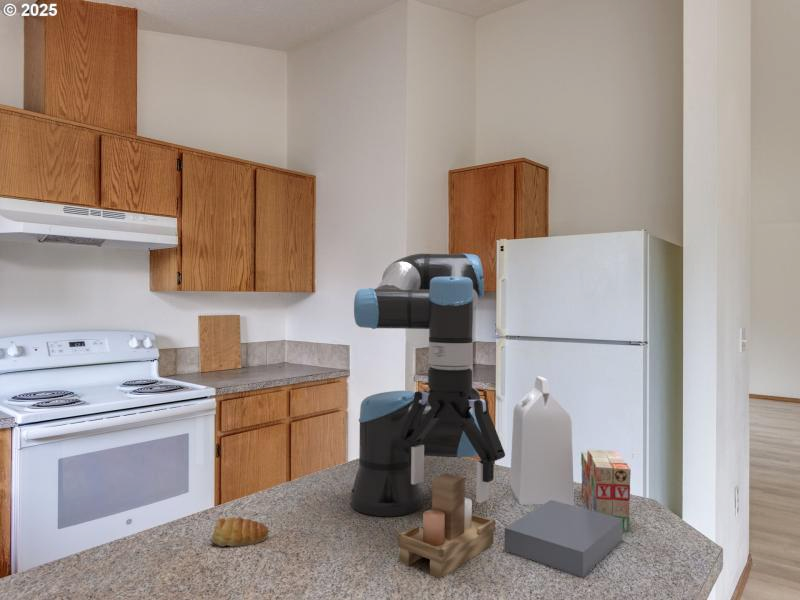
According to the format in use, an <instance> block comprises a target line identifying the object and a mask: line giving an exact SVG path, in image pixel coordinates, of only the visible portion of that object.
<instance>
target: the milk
mask: <svg viewBox="0 0 800 600" xmlns="http://www.w3.org/2000/svg"><path fill="white" fill-rule="evenodd" d="M512 417H513V418H512V437H511V438H512V439H511V456H510V457H511V459H510V473H509V475H510V477H509V486H510V488H511V490H512V492H513V494H514V496H515V498H516V500H517V499H518V500H517V502H518V501H519V502H518V503H520V504H519V505H533V504H545V503H546V502H548V501H549V500H553V501H557V502H561V503H565V504H568V505H572V506H575V490H574V488H575V487H574V486H575V485H574V460H573V459H574V457H573V432H572V431H573V429H572V425H573V423H572V419H571V415H570V414H569V412H567V411H566V409H565V408H564V407H563V406H562V405H561V404H560V403H559V402H558V401H557V400H556V399H555V398H554V397H553V396H552V395H551V394H550V384H549V379H547V378H545V377H544V376H540V375H539V376H538V375H537V376H535V381H534V387H533V389H532V390H530V391H529V392H527V393H526V394H524V395H523V396H522V398H521V399H520V400H519V401H518V402H517V403H516V404H515V406H514V407H513V416H512Z"/></svg>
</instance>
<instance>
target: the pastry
mask: <svg viewBox="0 0 800 600" xmlns="http://www.w3.org/2000/svg"><path fill="white" fill-rule="evenodd" d="M268 534H269V527H268V526H266V525H265V524H264V523H261V522H258V521H255V520H251V519H246V518H243V517H241V516H240V517H237V518H235V517H232V516H231V517H228V518H227V519H226V518H223V517H221V518H218V519H217V521H216V522H215V526H214V531H213V535H212V539H211V542H212V543H213V544H214V545H217V546H218V547H225V546H228V547H230V548H231V547H240V546H241V547H243V546H250V545H257V544H258V543H261V542H264V541H266V539H267V538H268Z"/></svg>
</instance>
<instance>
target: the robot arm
mask: <svg viewBox="0 0 800 600" xmlns="http://www.w3.org/2000/svg"><path fill="white" fill-rule="evenodd" d="M483 269H484V268H483V266H482V261H481V258H480V257H479V256H478V255H476V254H474V253H473V254H472V253H464V252H461V253H414V254H410V255H407V256H405V257H404V256H403V257H402V258H399V259H397V260H395V261H393V262H391V264H389V265H388V266H387V267H386V268H385V270H384V271H383V274H382V277H381V282H380V283H379V284H378V285H377V287H376V288H373V287H370V288H362V289H358V290H357V291H356V293H355V295H354V300H353V316H354V322H355V324H356V326H358V328H365V329H366V328H367V329H372V330H374V329H405V330H406V329H407V330H408V329H409V330H413V329H414V330H428V331H429V333H428V334H429V335H428V364H429V365H430V366H431V367H429V369H427V371H428V372H427V373H428V375H427V387H428V390H425V389H424V390H419V391H411V390H393V391H385V392H379V393H375V394H372V395H369V396H366V397H365V398H364V399H363V400H362V401H361V403H360V410H359V418H358V422H359V453H358V455H359V457H358V458H359V464H358V469H357V472H356V475H355V479H354V483H353V487H352V488H351V491H350V506H351V507H352V508H353V509H354V511H357V512H359V513H362V514H366V515H368V516H369V515H370V516H377V517H399V516H404V515H408V514H411V513H414V512H416V511H417V510H419V509H420V508H421V507H422V506H423V493H422V490H421V487H420V483H422V482H424V481H425V478H424V477H425V457H436V458H437V457H438V458H439V457H441V458H442V457H443V458H456V459H461V458H476V457H479V459H480V460H478V461H476V491H475V492H476V493H475V494H476V496H475V497H476V498H475V499H476V500H475V503H479V504H482V503H484V502H485V501H488V500H490V482H492V481H493V480H494V472H495V471H494V468H495V467H494V465H495V461H499V460H501V459H503V458H505V456H506V453H505V450H504V448H503V445H502V443H501V440H500V437H499V435H498V432H497V430H496V427H495V424H494V421H493V420H492V417H491V414H490V410H489V401H488V399H487V398H481V394H480V391H478V389H477V388H475V387H474V366H473V365H474V364H473V362H474V358H473V357H474V355H473V354H474V353H473V351H474V349H473V347H474V346H473V344H474V343H473V335H474V333H473V330H474V329H473V326H474V325H473V322H474V309H475V308H476V306H477V305H478V303H479V300H483V298H484V295H485V282H484V270H483Z"/></svg>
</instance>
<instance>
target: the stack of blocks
mask: <svg viewBox="0 0 800 600" xmlns="http://www.w3.org/2000/svg"><path fill="white" fill-rule="evenodd" d="M580 457H581V458H580V460H581V462H580V463H581V464H580V465H581V493H582V497H583V499H584V503H585V505H586V506H587V509H588V510H591V511H595V512H599V513H603V514H607V515H611V516H615V517H618V518H622V519H623V531H622V533H629V532H630V500H631V475H632V474H631V472H632V470H631V468H630V466H629V465H628V463H627V461H626V460H625V459H624V457H623V456H622V455H621V454H620V452H618V451H617V450H604V449H603V450H602V449H587V451H581V455H580Z"/></svg>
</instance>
